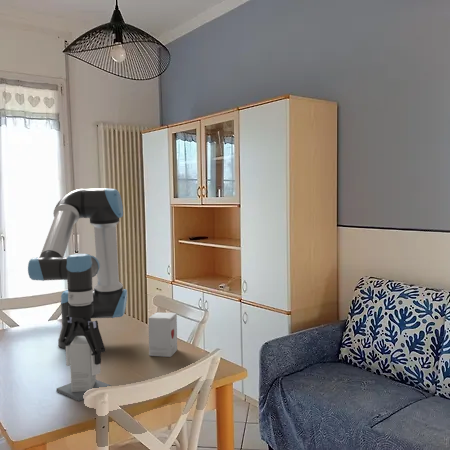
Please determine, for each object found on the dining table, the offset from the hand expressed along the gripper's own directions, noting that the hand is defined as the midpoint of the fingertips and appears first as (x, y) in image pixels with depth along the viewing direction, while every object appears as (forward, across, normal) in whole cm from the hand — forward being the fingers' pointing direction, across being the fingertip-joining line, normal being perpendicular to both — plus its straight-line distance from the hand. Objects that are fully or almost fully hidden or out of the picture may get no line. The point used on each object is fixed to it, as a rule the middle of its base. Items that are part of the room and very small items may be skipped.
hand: (83, 369), depth 153 cm
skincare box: (+6, 0, 0) cm, 6 cm away
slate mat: (+7, 0, 0) cm, 7 cm away
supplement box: (+7, -5, +40) cm, 41 cm away
